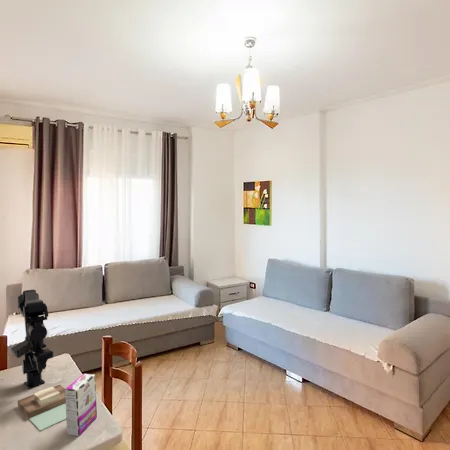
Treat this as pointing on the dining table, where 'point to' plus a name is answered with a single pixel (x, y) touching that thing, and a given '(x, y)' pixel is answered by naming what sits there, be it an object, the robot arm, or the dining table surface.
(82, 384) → the candy bar box
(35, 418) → the sage mat
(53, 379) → the dining table surface
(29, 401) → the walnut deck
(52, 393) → the birch block
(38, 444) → the dining table surface
